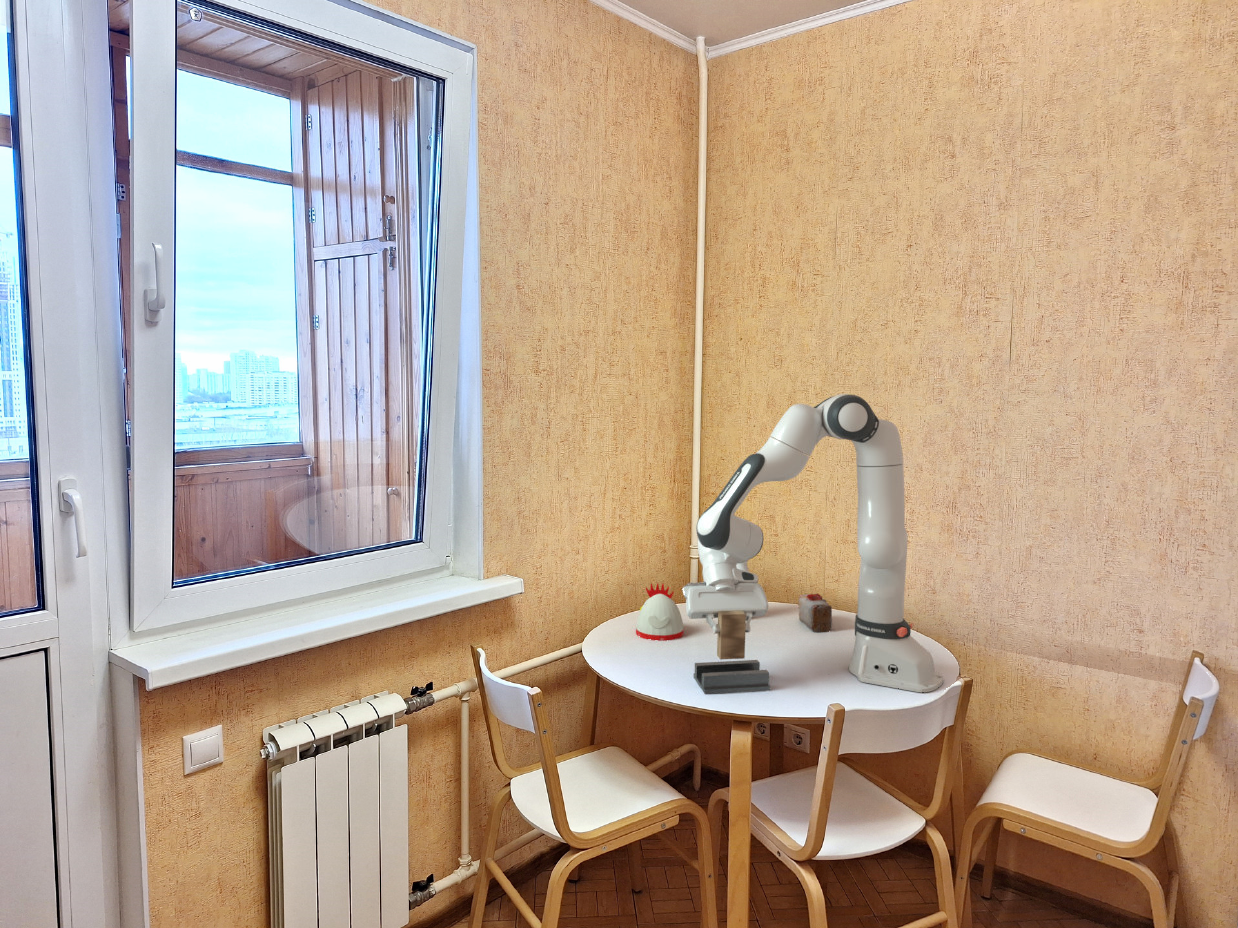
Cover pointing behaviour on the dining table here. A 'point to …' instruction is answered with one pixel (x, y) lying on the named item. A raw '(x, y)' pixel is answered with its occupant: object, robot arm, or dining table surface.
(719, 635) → the wooden block
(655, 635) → the kitchen timer
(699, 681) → the door track
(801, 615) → the food item
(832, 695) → the dining table surface
